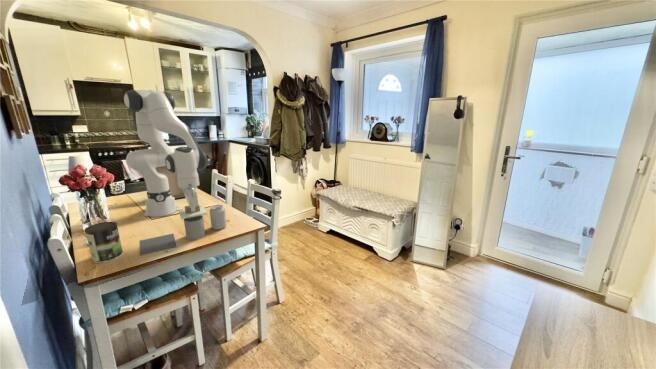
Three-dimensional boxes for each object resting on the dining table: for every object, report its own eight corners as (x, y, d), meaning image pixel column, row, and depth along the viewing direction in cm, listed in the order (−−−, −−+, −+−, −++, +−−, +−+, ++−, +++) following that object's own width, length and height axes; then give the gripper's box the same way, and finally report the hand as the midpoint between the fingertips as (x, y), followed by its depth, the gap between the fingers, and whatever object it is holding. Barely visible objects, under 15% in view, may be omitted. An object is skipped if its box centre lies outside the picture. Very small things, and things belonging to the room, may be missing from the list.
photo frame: (188, 197, 187) (183, 163, 180) (152, 204, 172) (145, 167, 166) (182, 192, 197) (177, 160, 190) (148, 198, 183) (141, 163, 176)
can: (217, 231, 135) (215, 210, 132) (208, 228, 139) (206, 207, 136) (229, 226, 142) (227, 205, 138) (220, 223, 145) (218, 203, 142)
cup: (197, 241, 125) (195, 222, 122) (182, 239, 127) (179, 220, 124) (208, 233, 133) (206, 215, 130) (194, 232, 135) (192, 214, 132)
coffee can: (129, 250, 117) (122, 221, 113) (112, 263, 107) (105, 231, 103) (104, 250, 116) (97, 221, 112) (85, 263, 106) (77, 232, 102)
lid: (178, 211, 128) (177, 205, 127) (203, 207, 134) (202, 201, 133) (181, 219, 119) (180, 212, 118) (207, 214, 125) (206, 207, 124)
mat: (139, 241, 124) (139, 240, 124) (173, 234, 132) (173, 233, 132) (139, 256, 112) (139, 255, 112) (176, 247, 119) (176, 246, 119)
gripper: (199, 186, 116) (203, 215, 119) (192, 176, 132) (196, 202, 136) (183, 188, 112) (188, 218, 116) (178, 178, 128) (182, 204, 132)
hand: (192, 209), depth 126 cm, fingers closed on lid, 3 cm apart
